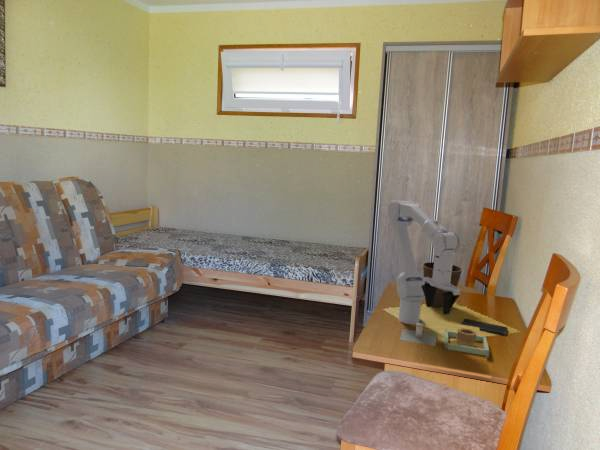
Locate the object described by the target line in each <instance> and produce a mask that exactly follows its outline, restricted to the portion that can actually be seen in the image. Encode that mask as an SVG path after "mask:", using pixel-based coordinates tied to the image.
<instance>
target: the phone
mask: <svg viewBox="0 0 600 450" xmlns="http://www.w3.org/2000/svg"><path fill="white" fill-rule="evenodd" d="M460 323H461V324H460V325H461V326H468V327H475V328H479V331H480V332H484V333H491V334H493V335H494V334H496V335H499V336H506V335H507V334H508V327H507V326H503V325H499V324H498V325H497V324H494V323H487V322H484V321H483V322H482V321H479V320H475V319H474V320H473V319H470V318H469V319H468V318H463V320H462V322H460Z"/></svg>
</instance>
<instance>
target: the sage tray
mask: <svg viewBox="0 0 600 450" xmlns="http://www.w3.org/2000/svg"><path fill="white" fill-rule="evenodd" d="M457 333H458V331H453V330H446V329H445V330H444V350H451V351H455V352H461V353H462V352H463V353H467V354H472V355H480V356H484V357H485V358H486V359H489V356H490V348H489V344H488V341H487V337H486V336H484V335H479V334H478V335H477V334H476V341H475V342H480V343H482V345H483V348H479V347H475V348H474V347H468V346H462V345H457V344H456V343H449V337H450V338H456V339H457Z"/></svg>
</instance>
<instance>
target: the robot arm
mask: <svg viewBox="0 0 600 450" xmlns="http://www.w3.org/2000/svg"><path fill="white" fill-rule="evenodd" d="M387 217H388V221H389V225H390V226H391V231H392V236H393V240H394V245H395V249H396V253H397V254H396V255H397V259H398V263H399V269H400V274H399V275H398V276H397V277H396V279H395V280H396V288H395V289H396V293H397V295H398V297H399V299H400V301H399V309H398V310H399V311H398V317H397V318H398V321H399V322H400V323H402V324H406V325H416V323H420V318H421V310H422V309H421V308H422V301H424V300H425V306H426V308H432V307H433V302H434V296H435V293H436V290H437V288H439V289H442V290H445V291H447V293H442V295H443V301H444V306H443V308H442V312H443V313H442V314H443V315H445V316H446V315H450V314H451V311H452V308H453V307H454V304H455V302H457V299H459V297H460V296H461V294H460V293H461V288H459V287H458V286H457V287H455V286H454V285H452V284H450V281H451V273H452V265H454V255H455V251H456V250H458V248H459V246H460V237H459V236H458V234H457V233H456V232H455V231H451V232H450V231H448V229H447V228H446V227H444V226H443V225H442V224H441V223H440V222H439V220H438V219H433V218H432V219H431V218H429V217H428V215H426V213H425V212H424V211H423V210H422V209H421V204H419V203H418V202H417V201H415V200H397V199H396V200H394V199H393V200H391V201H390V202H389V204H388V208H387ZM414 222H416V223H417V224H418V225H419V226H421V229H422V230H421V231H422V232H423V234H424V235H425V236H426V237H427V238H428V239H429V240H430V241H431V242H432V247H433V254H434V261H433V262H434V268H433V276H432V278H429V277H424V274H423V273H421V272H420V271H418V270H417V266H416V261H415V258H414V252H413V249H412V245H411V239H410V235H409V232H408V228H409V227H410V226H411V225H412V224H413V223H414Z"/></svg>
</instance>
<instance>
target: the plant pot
mask: <svg viewBox="0 0 600 450" xmlns="http://www.w3.org/2000/svg"><path fill="white" fill-rule="evenodd" d="M422 267H423V269H422V271H423V276H424V277H429V278H432V276H433V268H434V261H431V262H430V261H429V262H424V263H423V266H422ZM462 272H463V269H462V267H460V266H458V265H455V264H453V265H452V273H451V281H450V284H452V285H454V286H455V287H457V288H458V285H459V283H460V278H461V275H462ZM442 293H447V291H445V290H442V289H439V288H437V290H436V293H435V296H434V302H433V306H432V307H434V308H437V309H439V308H440V309H443V306H444V301H443V295H442Z"/></svg>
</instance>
